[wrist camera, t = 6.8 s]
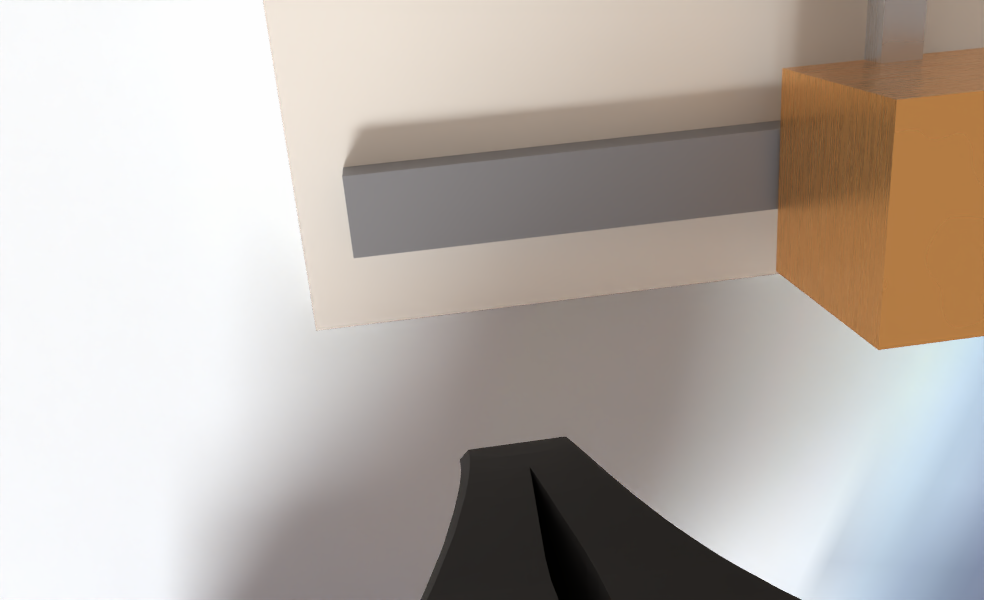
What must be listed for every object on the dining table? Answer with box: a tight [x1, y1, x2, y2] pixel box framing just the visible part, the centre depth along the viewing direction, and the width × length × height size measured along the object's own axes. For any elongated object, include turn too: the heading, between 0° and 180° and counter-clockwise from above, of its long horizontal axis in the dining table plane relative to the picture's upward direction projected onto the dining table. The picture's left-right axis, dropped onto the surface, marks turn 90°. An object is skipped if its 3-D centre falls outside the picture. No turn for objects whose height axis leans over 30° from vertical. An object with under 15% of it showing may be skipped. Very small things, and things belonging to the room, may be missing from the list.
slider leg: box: [776, 0, 984, 350], centre depth 16 cm, size 4×7×5 cm, turn 4°
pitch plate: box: [263, 0, 984, 331], centre depth 17 cm, size 22×9×6 cm, turn 94°
